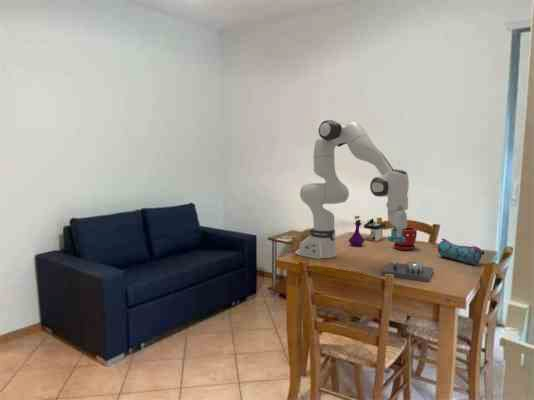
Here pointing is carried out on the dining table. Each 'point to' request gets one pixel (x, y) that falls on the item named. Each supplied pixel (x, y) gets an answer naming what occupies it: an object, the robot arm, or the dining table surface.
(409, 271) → the carrier plate
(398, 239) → the planet gear
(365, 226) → the black-topped pedestal
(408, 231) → the plant pot
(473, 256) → the pencil case
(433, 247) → the dining table surface
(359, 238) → the perfume bottle
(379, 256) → the dining table surface
